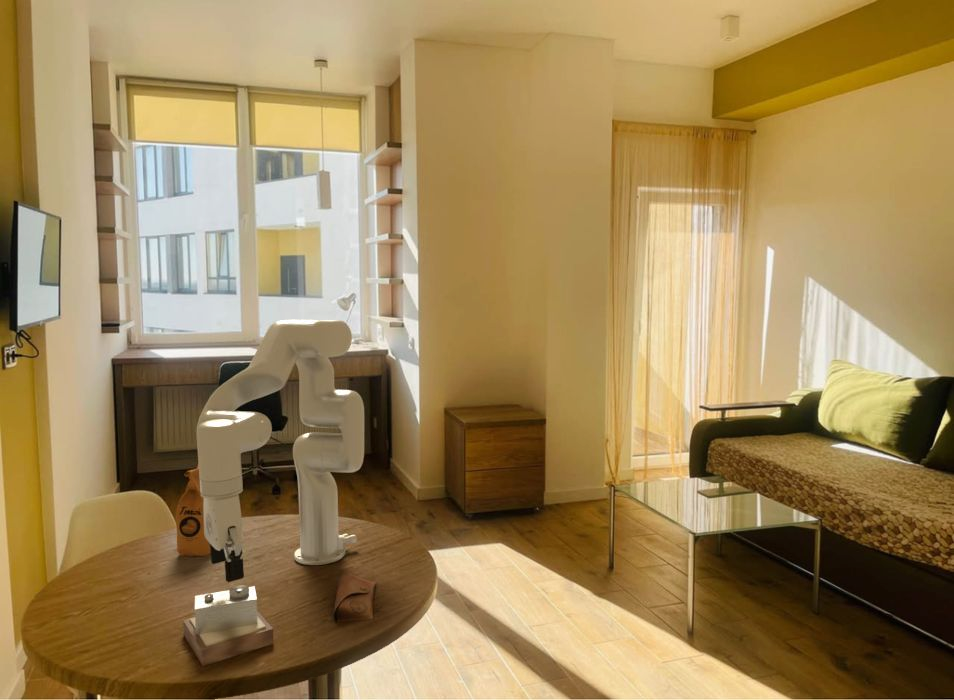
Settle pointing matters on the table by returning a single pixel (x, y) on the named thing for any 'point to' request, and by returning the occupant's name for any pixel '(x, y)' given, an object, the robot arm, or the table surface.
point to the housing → (226, 609)
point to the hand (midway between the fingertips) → (227, 570)
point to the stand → (227, 640)
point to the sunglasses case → (354, 598)
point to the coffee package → (191, 519)
